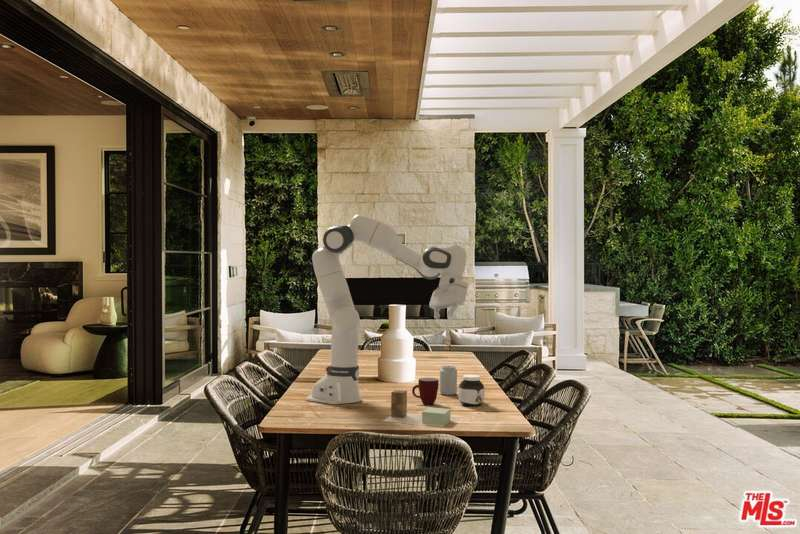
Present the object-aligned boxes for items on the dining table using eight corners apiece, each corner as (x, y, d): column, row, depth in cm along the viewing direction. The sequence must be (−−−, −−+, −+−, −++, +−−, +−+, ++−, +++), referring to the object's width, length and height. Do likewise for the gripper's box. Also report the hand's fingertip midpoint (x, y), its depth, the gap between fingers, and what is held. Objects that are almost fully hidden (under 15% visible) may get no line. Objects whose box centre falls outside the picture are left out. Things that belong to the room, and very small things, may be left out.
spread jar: (464, 407, 269) (465, 378, 269) (451, 402, 280) (451, 373, 279) (491, 405, 274) (491, 376, 274) (477, 400, 284) (477, 372, 284)
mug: (412, 406, 271) (412, 380, 271) (412, 401, 279) (412, 377, 279) (438, 406, 271) (439, 381, 271) (437, 402, 279) (438, 377, 279)
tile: (382, 423, 240) (382, 420, 240) (396, 414, 254) (396, 412, 254) (442, 429, 233) (442, 426, 233) (453, 420, 247) (453, 417, 247)
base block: (422, 423, 238) (422, 411, 237) (428, 418, 245) (428, 407, 245) (444, 425, 235) (444, 413, 235) (450, 420, 242) (450, 409, 242)
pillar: (391, 417, 246) (391, 392, 246) (395, 414, 251) (395, 390, 250) (402, 418, 245) (402, 393, 245) (406, 415, 249) (406, 390, 249)
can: (455, 396, 292) (456, 368, 292) (438, 395, 294) (438, 367, 293) (457, 393, 299) (458, 365, 299) (440, 392, 301) (441, 364, 301)
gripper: (429, 285, 281) (422, 317, 277) (458, 278, 263) (451, 312, 259) (442, 290, 284) (435, 321, 279) (471, 283, 266) (464, 317, 262)
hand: (443, 317), depth 269 cm, fingers open, 8 cm apart
